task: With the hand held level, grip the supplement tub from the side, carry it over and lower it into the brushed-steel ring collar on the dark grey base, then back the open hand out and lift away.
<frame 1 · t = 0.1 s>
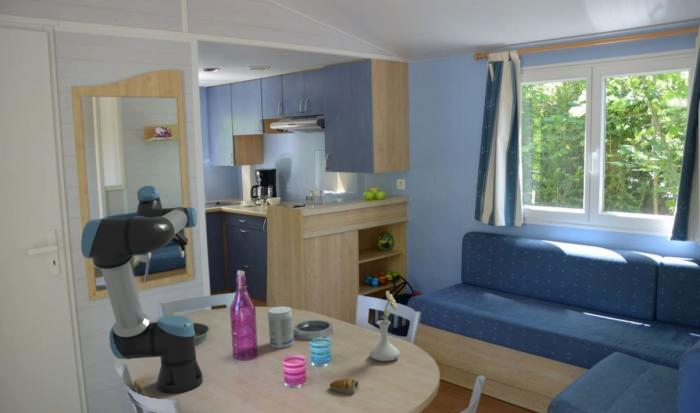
hand: (166, 256, 240), 36 cm above the table, tool tilted 35°, fingers open, 13 cm apart
supplement tub: (281, 345, 232), on the table
flower in vase: (385, 357, 215), on the table
cake pan: (180, 342, 241), on the table
ring collar: (313, 332, 245), on the table
pastry: (345, 390, 188), on the table
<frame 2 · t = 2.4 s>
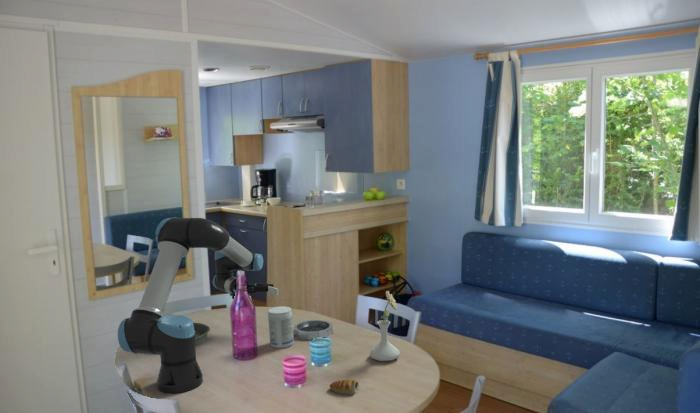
hand: (264, 295, 237), 19 cm above the table, tool horizontal, fingers open, 13 cm apart
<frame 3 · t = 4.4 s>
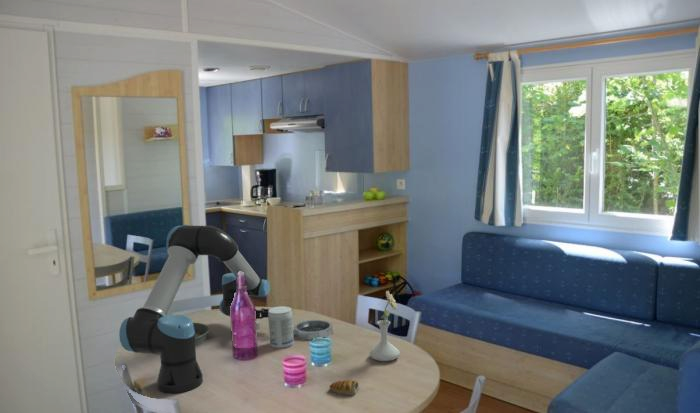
hand: (272, 322, 236), 8 cm above the table, tool horizontal, fingers open, 13 cm apart
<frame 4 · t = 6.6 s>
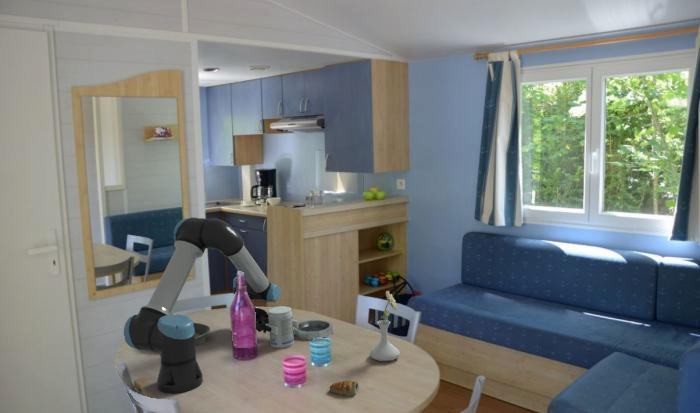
hand: (287, 327, 228), 8 cm above the table, tool horizontal, fingers closed on supplement tub, 9 cm apart
supplement tub: (281, 345, 232), on the table, touching gripper
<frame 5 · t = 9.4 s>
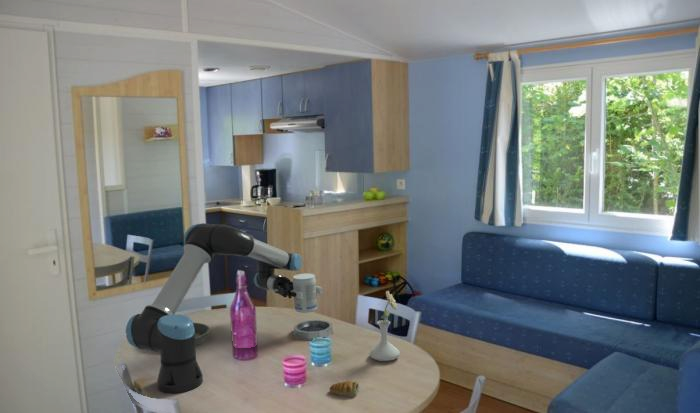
hand: (311, 293, 237), 19 cm above the table, tool horizontal, fingers closed on supplement tub, 9 cm apart
supplement tub: (306, 310, 241), point 11 cm above the table, touching gripper
when the fingers open (9 cm above the table, at t = 12.3 s): supplement tub stays where it is, resting on ring collar.
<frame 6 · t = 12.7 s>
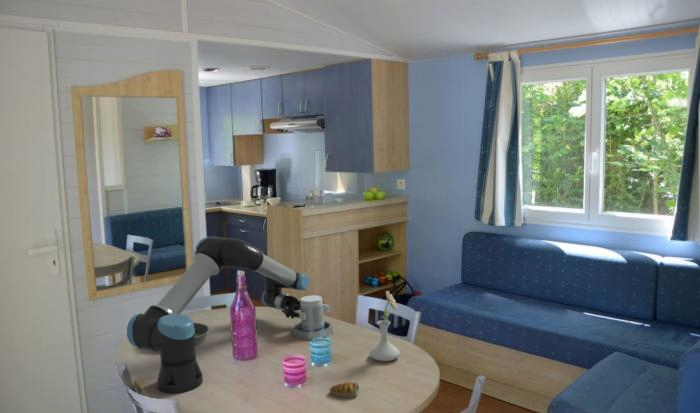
hand: (317, 312, 241), 9 cm above the table, tool horizontal, fingers open, 13 cm apart
supplement tub: (312, 332, 244), resting on ring collar
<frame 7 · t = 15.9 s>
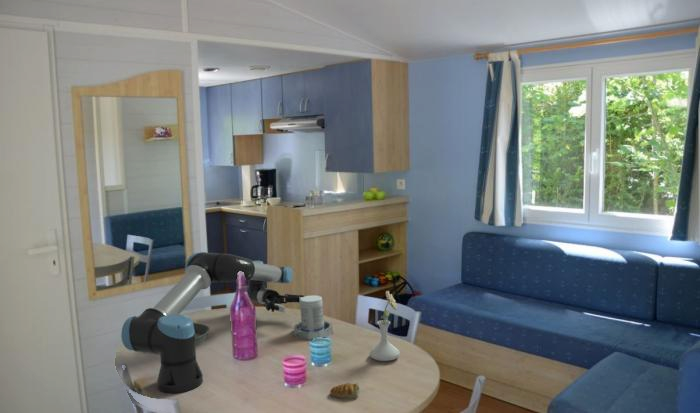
hand: (296, 306, 250), 10 cm above the table, tool horizontal, fingers open, 13 cm apart
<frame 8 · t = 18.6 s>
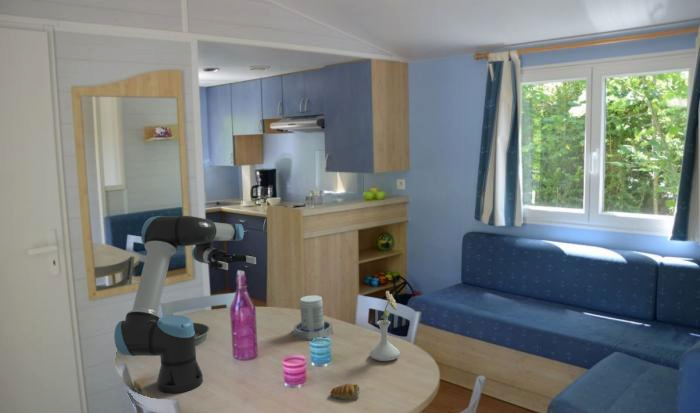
hand: (241, 263, 238), 32 cm above the table, tool horizontal, fingers open, 13 cm apart
at the end: supplement tub 0.2 cm off-centre on the ring collar, point 0.4 cm above the ring collar's base; supplement tub tilted 0°; the gripper is holding nothing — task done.
